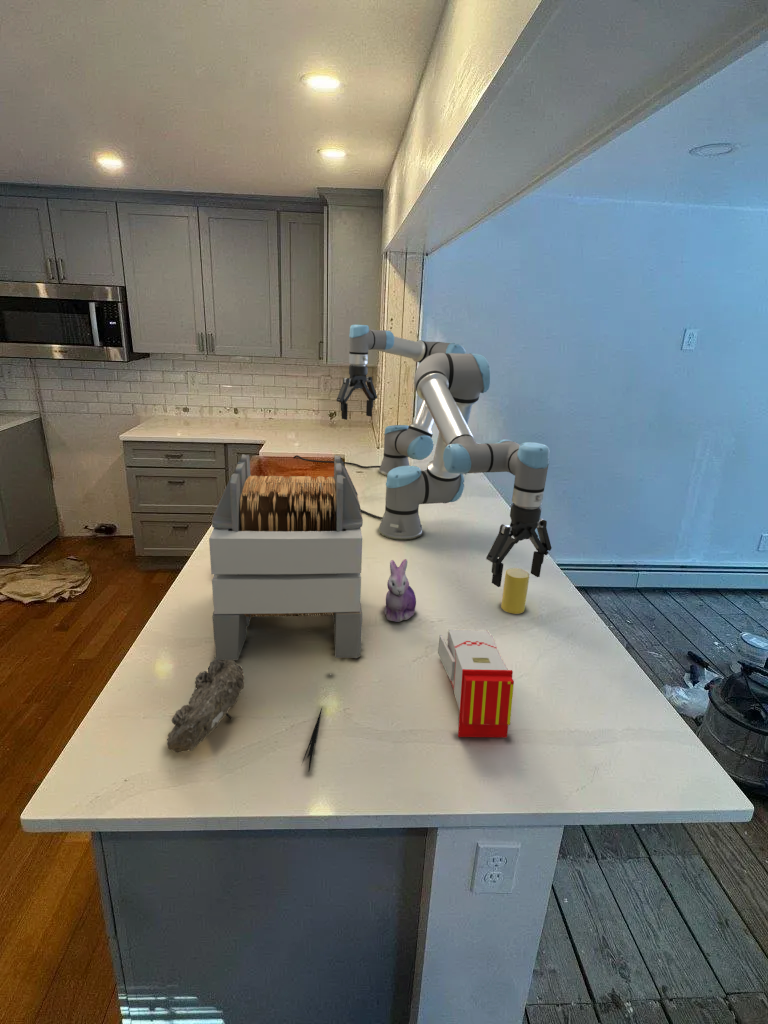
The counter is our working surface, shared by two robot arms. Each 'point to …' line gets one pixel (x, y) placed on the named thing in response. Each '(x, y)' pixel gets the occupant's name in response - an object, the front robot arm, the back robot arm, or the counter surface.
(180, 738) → the fossil
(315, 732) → the feather
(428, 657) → the counter surface
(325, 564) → the record crate
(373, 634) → the counter surface
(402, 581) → the figurine
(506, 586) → the canister
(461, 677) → the toy
